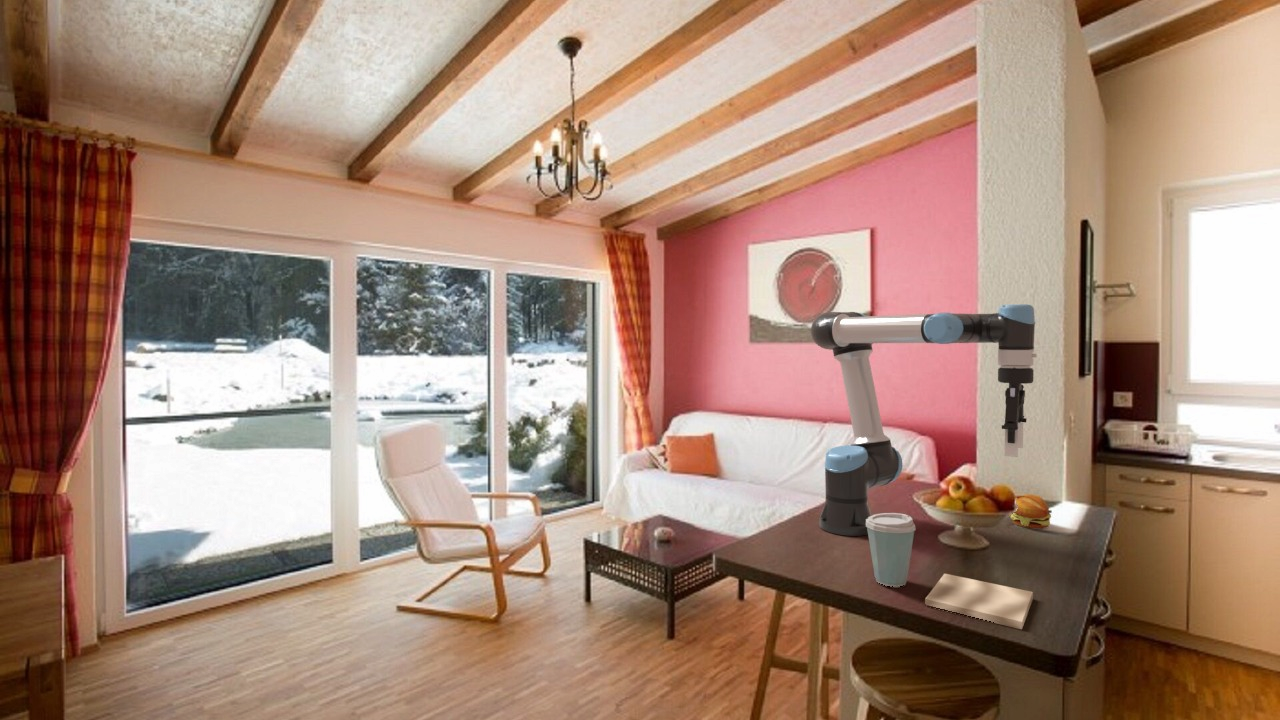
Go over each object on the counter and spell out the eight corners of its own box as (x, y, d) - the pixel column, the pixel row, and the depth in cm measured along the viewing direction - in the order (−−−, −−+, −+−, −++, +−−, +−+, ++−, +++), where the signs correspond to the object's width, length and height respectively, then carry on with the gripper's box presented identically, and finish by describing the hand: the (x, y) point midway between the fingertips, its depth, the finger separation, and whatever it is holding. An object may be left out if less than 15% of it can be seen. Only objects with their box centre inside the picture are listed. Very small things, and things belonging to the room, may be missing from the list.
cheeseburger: (1050, 522, 179) (1051, 491, 177) (1052, 540, 171) (1053, 508, 168) (1010, 516, 185) (1011, 487, 182) (1010, 534, 176) (1010, 503, 174)
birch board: (925, 605, 125) (925, 598, 125) (944, 579, 138) (944, 573, 138) (1021, 629, 114) (1021, 621, 114) (1032, 599, 127) (1032, 592, 127)
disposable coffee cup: (874, 591, 132) (874, 523, 132) (858, 572, 143) (858, 509, 142) (923, 591, 132) (923, 523, 131) (904, 573, 142) (904, 509, 142)
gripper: (1029, 369, 138) (1027, 462, 139) (1037, 365, 158) (1035, 445, 159) (991, 368, 142) (990, 458, 143) (1003, 364, 162) (1002, 442, 163)
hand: (1013, 451), depth 151 cm, fingers open, 13 cm apart
